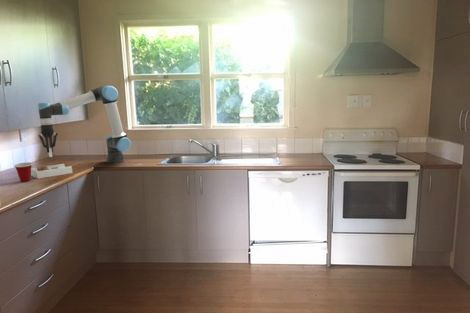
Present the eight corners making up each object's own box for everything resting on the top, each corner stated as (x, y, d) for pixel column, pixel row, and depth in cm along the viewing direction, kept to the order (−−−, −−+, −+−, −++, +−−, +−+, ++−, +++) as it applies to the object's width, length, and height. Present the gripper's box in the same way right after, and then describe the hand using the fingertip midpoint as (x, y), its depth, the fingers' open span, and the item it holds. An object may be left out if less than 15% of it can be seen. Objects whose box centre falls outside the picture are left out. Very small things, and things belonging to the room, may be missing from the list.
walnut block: (45, 171, 263) (44, 165, 262) (48, 172, 259) (47, 166, 258) (37, 172, 259) (36, 166, 259) (39, 173, 255) (39, 167, 255)
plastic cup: (14, 183, 239) (11, 166, 237) (18, 180, 249) (16, 163, 247) (32, 182, 242) (30, 164, 240) (36, 178, 252) (34, 161, 250)
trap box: (64, 170, 280) (63, 163, 279) (72, 172, 269) (71, 166, 268) (30, 175, 264) (29, 168, 263) (37, 178, 252) (36, 171, 251)
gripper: (54, 123, 265) (58, 154, 269) (34, 124, 256) (39, 157, 260) (57, 123, 259) (61, 155, 264) (38, 125, 250) (42, 158, 255)
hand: (50, 156), depth 262 cm, fingers closed
